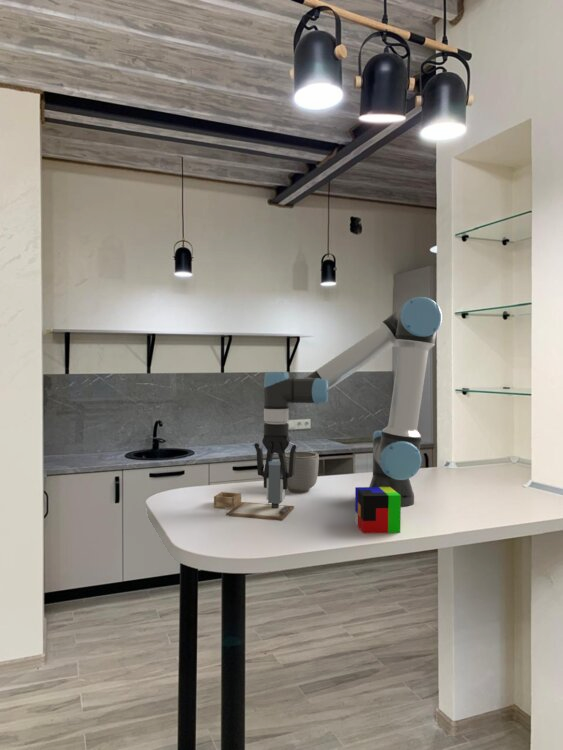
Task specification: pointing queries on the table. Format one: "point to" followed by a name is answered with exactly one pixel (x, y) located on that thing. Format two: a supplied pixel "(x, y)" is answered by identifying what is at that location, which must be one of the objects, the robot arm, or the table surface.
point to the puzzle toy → (377, 509)
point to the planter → (303, 471)
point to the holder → (227, 500)
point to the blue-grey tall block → (274, 483)
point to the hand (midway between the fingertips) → (275, 499)
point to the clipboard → (260, 511)
